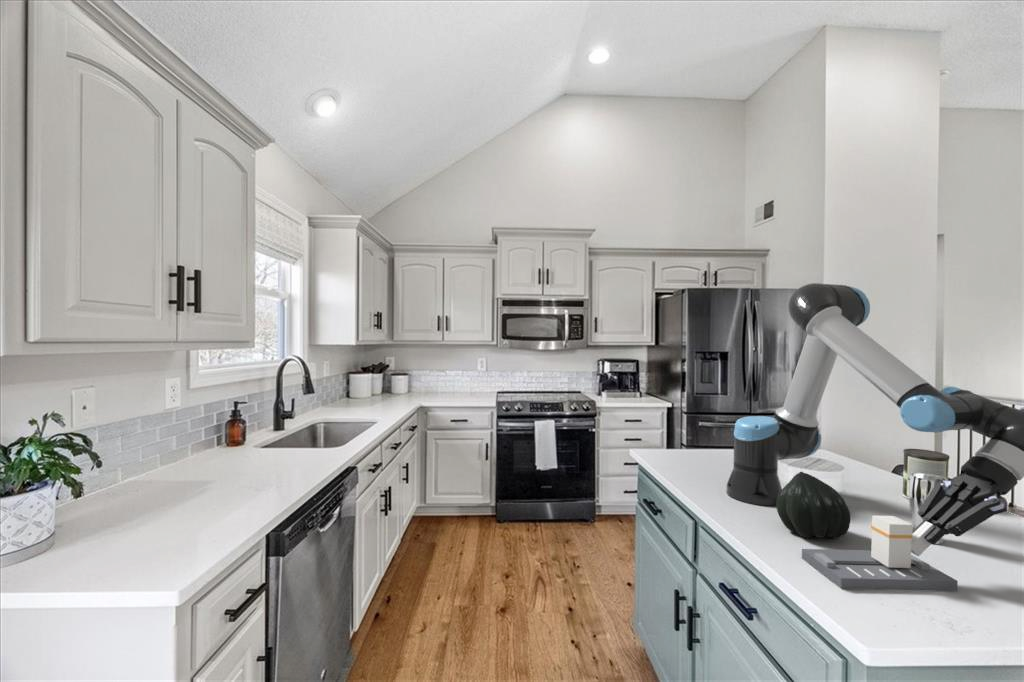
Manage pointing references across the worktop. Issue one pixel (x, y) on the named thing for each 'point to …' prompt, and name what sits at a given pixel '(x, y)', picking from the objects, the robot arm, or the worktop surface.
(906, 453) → the coffee can
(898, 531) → the fader knob
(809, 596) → the worktop surface
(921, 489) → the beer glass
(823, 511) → the squash
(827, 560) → the panel
